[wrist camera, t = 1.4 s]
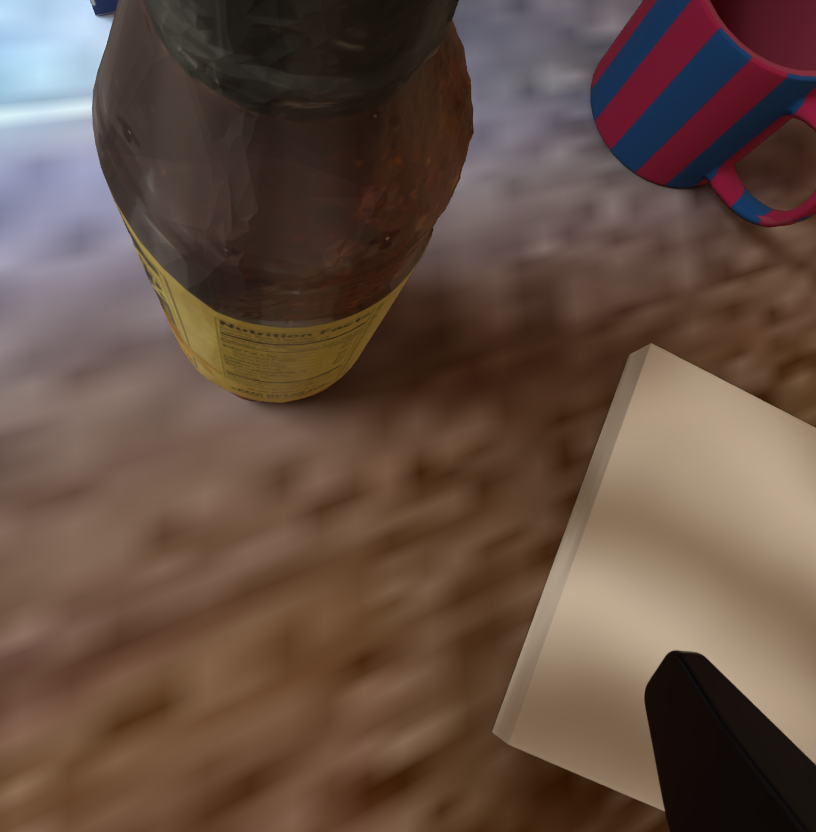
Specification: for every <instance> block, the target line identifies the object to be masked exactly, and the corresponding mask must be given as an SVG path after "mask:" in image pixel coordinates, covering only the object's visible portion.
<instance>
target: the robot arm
mask: <svg viewBox="0 0 816 832" xmlns="http://www.w3.org/2000/svg"><path fill="white" fill-rule="evenodd" d="M644 702H645V709H646V714H647V720H648V725H649V730H650V736H651V741H652V746H653V752H654V757H655V763H656V768H657V773H658V779H659V784H660V790H661V795H662V800H663V804H664V809H665V814H666V818H667V822H668V825H669V829H670V832H816V764H815V763H813V762H812V761H811V760H810V759H809V758H808V757H807V756H806V755H805V754H804V753H803V752H802V751H801V750H800V749H799V748H798V747H797V746H796V745H795V744H794V743H793V742H792V741H791V740H790V739H789V738H788V737H787V736H786V735H785V734H784V733H783V732H782V731H781V730H780V729H779V728H778V727H777V726H776V725H775V724H774V723H773V722H772V721H771V720H770V719H769V718H768V717H766V716H765V715H764V714H763V713H762V712H761V711H760V710H759V709H758V708H757V707H756V706H755V705H754V704H753V703H752V702H751V701H750V700H749V699H748V698H747V697H746V696H745V695H744V694H743V693H742V692H741V691H740V690H739V689H738V688H737V687H736V686H735V685H734V684H733V683H732V682H731V681H730V680H729V679H728V678H727V677H726V676H725V675H724V674H723V673H722V672H720V671H719V670H718V669H717V668H716V667H715V666H714V665H713V664H712V663H711V662H710V661H709V660H708V659H707V658H706V657H705V656H703V655H702V654H700V653H698V652H692V651H680V650H673V651H671V652H669V653H668V654H667V655H666V656H665V657H664V659H663V660H662V662H661V663H660V665H659V666H658V668H657V669H656V671H655V672H654V674H653V675H652V677H651V678H650V680H649V681H648V683H647V685H646V688H645V694H644Z"/></svg>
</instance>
